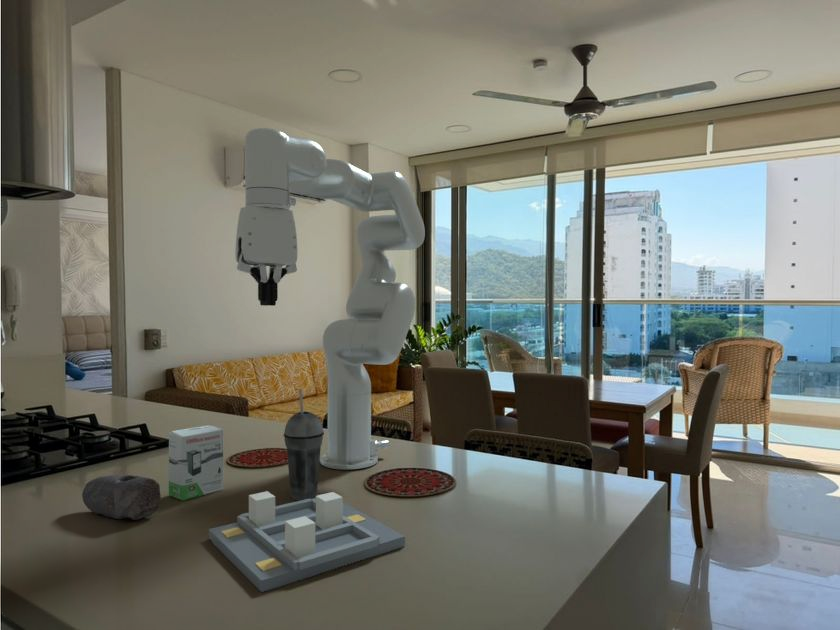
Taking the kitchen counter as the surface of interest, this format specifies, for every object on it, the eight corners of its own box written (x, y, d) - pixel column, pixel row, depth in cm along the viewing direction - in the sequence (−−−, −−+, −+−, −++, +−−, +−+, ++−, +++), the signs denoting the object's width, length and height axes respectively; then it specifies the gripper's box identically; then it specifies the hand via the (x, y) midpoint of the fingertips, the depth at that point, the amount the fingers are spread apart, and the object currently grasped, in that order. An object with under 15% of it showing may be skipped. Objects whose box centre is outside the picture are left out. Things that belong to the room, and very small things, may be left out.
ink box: (181, 501, 104) (180, 436, 103) (167, 495, 107) (167, 431, 107) (224, 489, 110) (224, 427, 110) (210, 484, 114) (210, 424, 113)
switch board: (335, 506, 102) (335, 492, 102) (406, 547, 85) (406, 530, 85) (208, 538, 88) (208, 521, 88) (262, 593, 72) (262, 573, 72)
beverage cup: (331, 492, 109) (331, 386, 108) (311, 505, 102) (311, 392, 102) (297, 487, 111) (296, 384, 111) (275, 500, 105) (275, 389, 104)
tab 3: (333, 520, 91) (333, 491, 91) (342, 526, 89) (342, 497, 89) (315, 524, 89) (315, 495, 89) (325, 531, 87) (325, 501, 87)
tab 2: (305, 548, 81) (305, 516, 81) (315, 555, 79) (315, 522, 79) (285, 553, 79) (285, 521, 79) (294, 561, 77) (294, 528, 77)
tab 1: (267, 519, 91) (267, 491, 91) (275, 525, 89) (275, 496, 89) (248, 524, 90) (248, 495, 89) (256, 530, 87) (256, 500, 87)
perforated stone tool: (71, 515, 97) (70, 474, 97) (98, 504, 102) (98, 465, 102) (138, 528, 92) (138, 485, 92) (164, 516, 97) (164, 475, 97)
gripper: (296, 208, 111) (297, 304, 111) (218, 200, 101) (218, 305, 102) (315, 203, 105) (315, 305, 105) (233, 194, 95) (234, 306, 96)
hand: (267, 305), depth 104 cm, fingers closed
